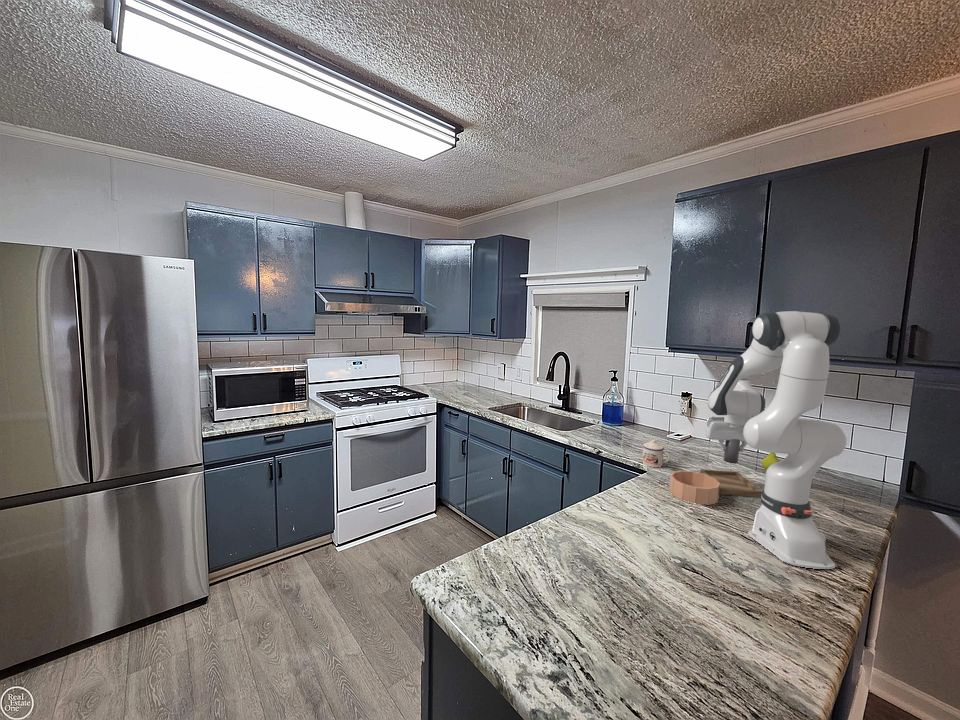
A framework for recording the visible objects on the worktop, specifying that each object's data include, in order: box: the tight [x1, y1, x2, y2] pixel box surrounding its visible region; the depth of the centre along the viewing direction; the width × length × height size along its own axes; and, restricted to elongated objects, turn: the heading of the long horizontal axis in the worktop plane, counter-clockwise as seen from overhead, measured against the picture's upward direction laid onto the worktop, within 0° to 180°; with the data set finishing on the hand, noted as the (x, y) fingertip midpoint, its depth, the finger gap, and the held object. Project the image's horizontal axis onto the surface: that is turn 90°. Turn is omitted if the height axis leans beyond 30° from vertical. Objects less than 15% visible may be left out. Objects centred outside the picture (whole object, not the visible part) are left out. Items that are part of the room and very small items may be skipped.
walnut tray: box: [699, 469, 763, 499], centre depth 165 cm, size 20×15×2 cm
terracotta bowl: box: [668, 470, 720, 505], centre depth 156 cm, size 17×17×6 cm
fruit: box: [761, 452, 781, 471], centre depth 180 cm, size 7×7×12 cm
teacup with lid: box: [642, 439, 671, 468], centre depth 186 cm, size 12×9×12 cm
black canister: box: [723, 439, 741, 465], centre depth 164 cm, size 5×5×10 cm
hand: (731, 450), depth 164 cm, fingers closed on black canister, 5 cm apart
